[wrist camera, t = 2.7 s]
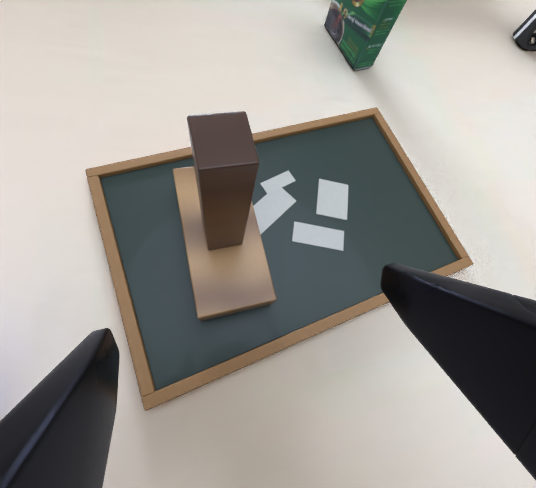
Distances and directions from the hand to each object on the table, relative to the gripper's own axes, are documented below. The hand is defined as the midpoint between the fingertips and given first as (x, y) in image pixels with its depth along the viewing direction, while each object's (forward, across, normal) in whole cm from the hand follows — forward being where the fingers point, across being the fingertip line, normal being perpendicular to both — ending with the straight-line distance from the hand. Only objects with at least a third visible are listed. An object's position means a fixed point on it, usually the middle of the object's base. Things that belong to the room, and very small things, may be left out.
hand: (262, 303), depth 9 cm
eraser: (+13, 0, +4) cm, 14 cm away
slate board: (+14, -6, +4) cm, 16 cm away
